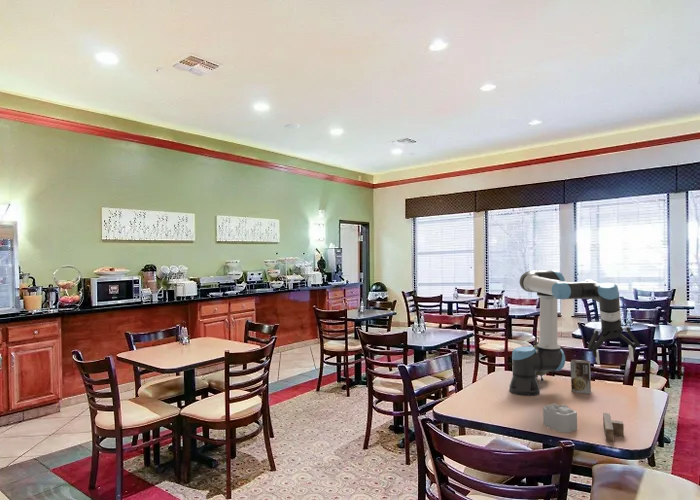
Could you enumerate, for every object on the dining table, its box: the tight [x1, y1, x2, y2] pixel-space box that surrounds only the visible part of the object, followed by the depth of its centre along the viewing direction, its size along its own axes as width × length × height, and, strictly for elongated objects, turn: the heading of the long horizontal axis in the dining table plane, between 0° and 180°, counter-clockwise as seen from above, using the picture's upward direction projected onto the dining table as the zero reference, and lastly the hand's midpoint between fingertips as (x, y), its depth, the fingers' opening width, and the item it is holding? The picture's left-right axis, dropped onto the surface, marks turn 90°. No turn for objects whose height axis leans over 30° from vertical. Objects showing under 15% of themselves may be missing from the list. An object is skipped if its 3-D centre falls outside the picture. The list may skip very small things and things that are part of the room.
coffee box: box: [569, 359, 592, 395], centre depth 238 cm, size 9×6×16 cm
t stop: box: [602, 412, 625, 443], centre depth 180 cm, size 6×20×5 cm, turn 153°
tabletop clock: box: [532, 336, 550, 382], centre depth 262 cm, size 14×9×25 cm, turn 141°
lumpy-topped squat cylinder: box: [542, 403, 578, 434], centre depth 189 cm, size 10×13×9 cm
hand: (614, 361), depth 199 cm, fingers open, 13 cm apart
